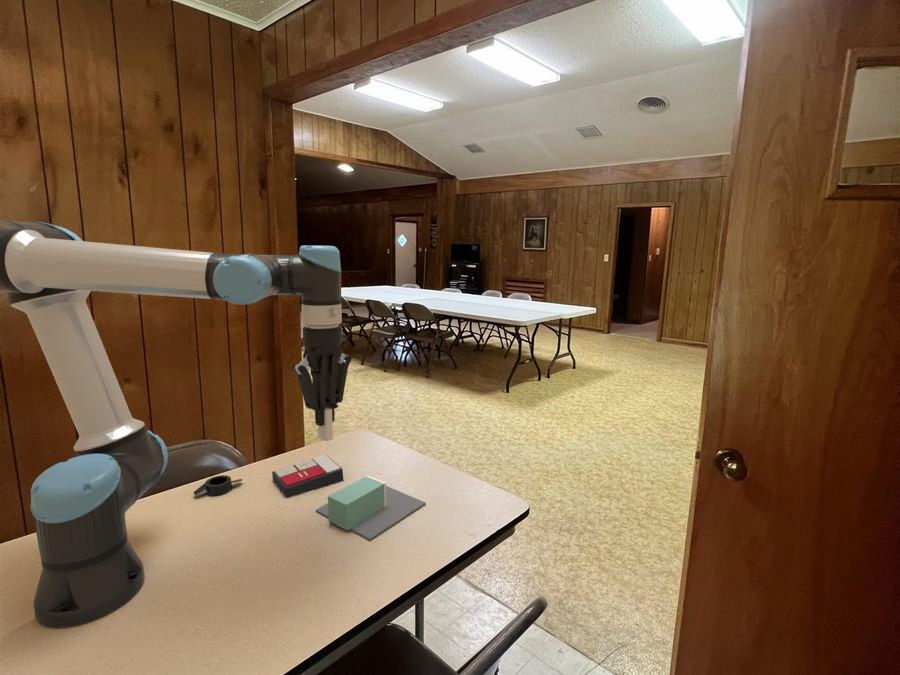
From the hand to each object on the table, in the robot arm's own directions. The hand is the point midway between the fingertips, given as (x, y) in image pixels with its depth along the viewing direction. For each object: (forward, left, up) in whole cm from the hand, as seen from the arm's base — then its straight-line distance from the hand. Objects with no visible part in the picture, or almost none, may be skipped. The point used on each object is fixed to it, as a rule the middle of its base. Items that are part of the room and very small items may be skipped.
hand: (325, 438), depth 96 cm
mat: (0, +12, -21) cm, 25 cm away
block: (0, +2, -18) cm, 18 cm away
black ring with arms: (-36, -6, -22) cm, 42 cm away
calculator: (-23, +11, -22) cm, 33 cm away
